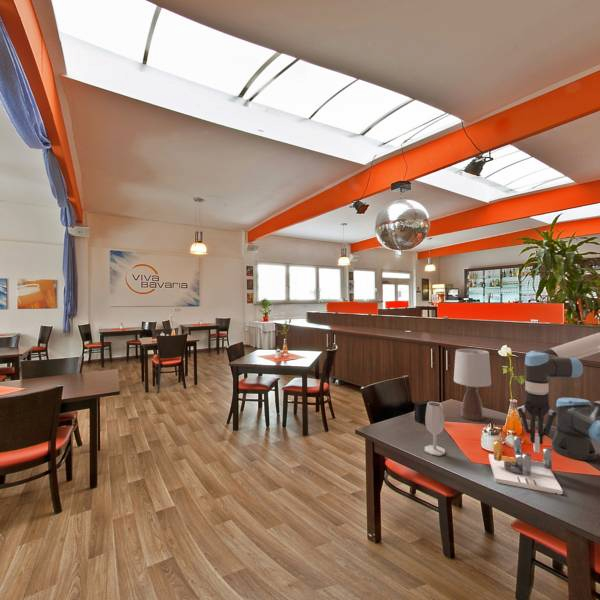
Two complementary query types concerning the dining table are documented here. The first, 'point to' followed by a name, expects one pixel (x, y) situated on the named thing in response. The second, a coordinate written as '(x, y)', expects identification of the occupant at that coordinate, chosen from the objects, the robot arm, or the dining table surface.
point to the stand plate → (526, 477)
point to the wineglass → (434, 426)
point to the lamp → (472, 379)
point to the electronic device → (420, 411)
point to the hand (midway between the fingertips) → (536, 451)
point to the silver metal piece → (521, 458)
